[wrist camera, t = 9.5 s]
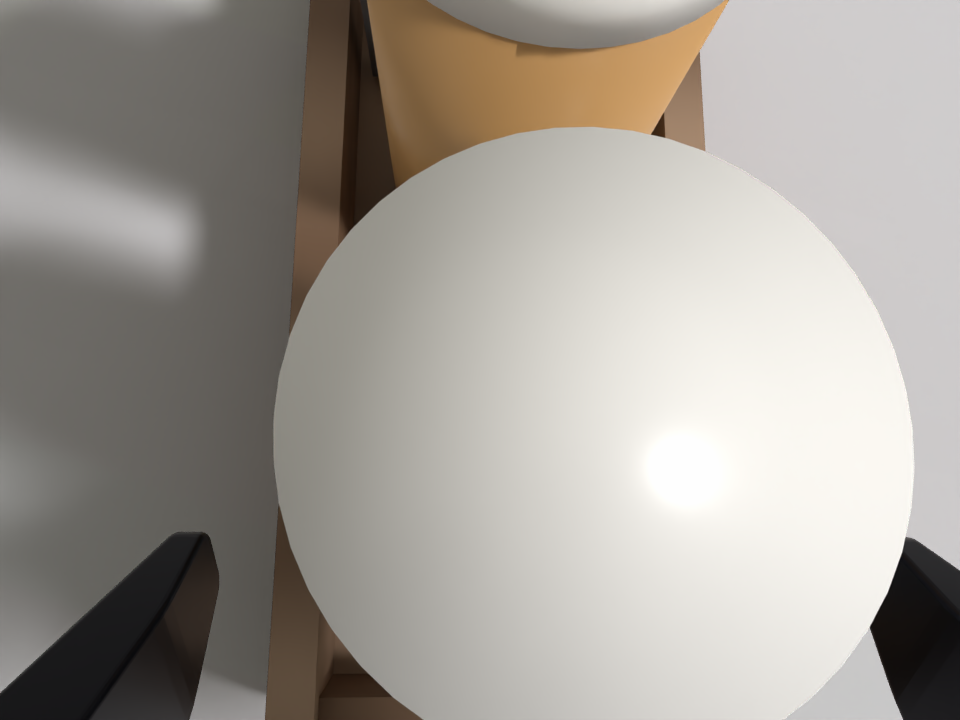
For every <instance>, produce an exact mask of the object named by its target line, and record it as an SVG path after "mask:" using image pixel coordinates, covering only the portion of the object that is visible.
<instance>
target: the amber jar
mask: <svg viewBox="0 0 960 720" xmlns="http://www.w3.org/2000/svg"><path fill="white" fill-rule="evenodd" d="M728 1H729V0H367V4H368V10H369V17H370V23H371V30H372V37H373V43H374V50H375V56H376V63H377V69H378V76H379V82H380V89H381V95H382V102H383V109H384V115H385V122H386V128H387V135H388V141H389V148H390V154H391V161H392V167H393V174H394V181H395V187H396V189H397V188H398V187H399V186H401V185H402V184H403V183H405V182H406V181H407V180H408V179H410V178H411V177H413V176H415V175H416V174H418V173H420V172H422V171H423V170H425V169H427V168H429V167H430V166H432V165H434V164H436V163H437V162H439V161H441V160H443V159H444V158H447V157H449V156H451V155H454V154H456V153H459V152H461V151H463V150H466V149H468V148H471V147H473V146H475V145H478V144H480V143H484V142H488V141H491V140H495V139H498V138H502V137H506V136H509V135H513V134H516V133H523V132H530V131H536V130H543V129H550V128H566V127H600V128H610V129H621V130H631V131H636V132H640V133H645V134H649V135H651V133H652V132H653V130H654V128H655V127H656V125H657V123H658V121H659V120H660V118H661V116H662V115H663V113H664V111H665V109H666V108H667V106H668V104H669V103H670V101H671V99H672V97H673V96H674V94H675V92H676V90H677V89H678V87H679V85H680V84H681V82H682V80H683V78H684V77H685V75H686V73H687V72H688V70H689V68H690V66H691V65H692V63H693V61H694V60H695V58H696V56H697V54H698V53H699V51H700V49H701V48H702V46H703V44H704V42H705V41H706V39H707V37H708V36H709V34H710V32H711V30H712V29H713V27H714V25H715V24H716V22H717V20H718V18H719V17H720V15H721V13H722V12H723V10H724V8H725V6H726V5H727V3H728Z"/></svg>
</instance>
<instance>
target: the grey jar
mask: <svg viewBox="0 0 960 720" xmlns="http://www.w3.org/2000/svg"><path fill="white" fill-rule="evenodd" d="M273 462H274V470H275V477H276V485H277V493H278V500H279V506H280V510H281V513H282V517H283V521H284V525H285V528H286V532H287V536H288V539H289V543H290V547H291V550H292V552H293V554H294V557H295V559H296V561H297V564H298V566H299V569H300V571H301V573H302V576H303V578H304V580H305V583H306V585H307V588H308V590H309V592H310V593H311V595H312V597H313V598H314V600H315V602H316V604H317V605H318V607H319V609H320V610H321V612H322V614H323V615H324V617H325V619H326V620H327V622H328V624H329V626H330V627H331V629H332V630H333V632H334V633H335V634H336V635H337V637H338V638H339V639H340V641H341V642H342V643H343V644H344V646H345V647H346V648H347V649H348V651H349V652H350V653H351V655H352V656H353V657H354V658H355V660H356V661H357V662H358V663H359V665H360V666H361V667H362V668H363V669H364V670H365V671H366V672H367V673H368V674H369V675H370V676H371V677H373V678H374V679H375V680H376V681H377V682H378V683H379V684H380V685H381V686H382V687H383V688H384V689H385V690H386V691H387V692H388V693H389V694H390V695H391V696H392V697H393V698H394V699H396V700H397V701H398V702H400V703H401V704H403V705H404V706H405V707H407V708H408V709H409V710H411V711H412V712H414V713H415V714H416V715H418V716H419V717H420V718H422V719H423V720H784V719H785V718H786V717H788V716H789V715H790V714H791V713H793V712H794V711H795V710H797V709H798V708H799V707H800V706H802V705H803V704H804V703H805V702H807V701H808V700H809V699H811V698H812V697H813V696H814V695H815V694H816V693H817V692H818V691H819V690H820V689H821V688H822V687H823V686H824V685H825V683H826V682H827V681H828V680H829V679H830V678H831V677H832V676H833V675H834V674H835V673H836V672H837V671H838V670H839V669H840V668H841V667H842V666H843V664H844V663H845V662H846V660H847V659H848V657H849V656H850V655H851V653H852V652H853V650H854V649H855V648H856V646H857V645H858V643H859V642H860V641H861V639H862V638H863V636H864V635H865V634H866V632H867V631H868V629H869V627H870V625H871V623H872V621H873V620H874V618H875V616H876V614H877V612H878V610H879V608H880V606H881V604H882V602H883V600H884V598H885V596H886V595H887V593H888V590H889V587H890V585H891V582H892V579H893V576H894V573H895V571H896V568H897V565H898V562H899V559H900V557H901V554H902V551H903V546H904V541H905V537H906V532H907V527H908V523H909V518H910V513H911V505H912V493H913V480H914V449H913V428H912V422H911V416H910V410H909V404H908V399H907V393H906V387H905V384H904V380H903V377H902V374H901V370H900V367H899V364H898V361H897V357H896V354H895V351H894V347H893V345H892V343H891V341H890V338H889V336H888V334H887V331H886V329H885V327H884V325H883V322H882V320H881V318H880V316H879V313H878V311H877V309H876V307H875V306H874V304H873V302H872V301H871V299H870V297H869V296H868V294H867V292H866V290H865V289H864V287H863V285H862V284H861V282H860V280H859V279H858V277H857V275H856V274H855V273H854V271H853V270H852V269H851V267H850V266H849V265H848V263H847V262H846V261H845V260H844V258H843V257H842V256H841V254H840V253H839V252H838V250H837V249H836V248H835V246H834V245H833V244H832V243H831V242H830V241H829V240H828V239H827V238H826V236H825V235H824V234H823V233H822V232H821V231H820V230H819V229H818V228H817V227H816V226H815V225H814V224H813V223H812V222H811V221H810V220H809V219H808V218H807V217H806V216H805V215H804V214H803V213H802V212H801V211H799V210H798V209H797V208H796V207H794V206H793V205H792V204H791V203H790V202H788V201H787V200H786V199H785V198H783V197H782V196H781V195H780V194H778V193H777V192H776V191H775V190H774V189H772V188H770V187H769V186H767V185H766V184H764V183H763V182H761V181H759V180H758V179H756V178H755V177H753V176H752V175H750V174H748V173H747V172H745V171H744V170H742V169H741V168H739V167H737V166H734V165H732V164H730V163H728V162H726V161H724V160H722V159H720V158H718V157H716V156H714V155H712V154H710V153H708V152H706V151H703V150H700V149H697V148H694V147H691V146H688V145H685V144H683V143H680V142H677V141H674V140H671V139H668V138H663V137H659V136H654V135H649V134H645V133H640V132H636V131H631V130H621V129H610V128H600V127H566V128H550V129H543V130H536V131H530V132H523V133H516V134H513V135H509V136H506V137H502V138H498V139H495V140H491V141H488V142H484V143H480V144H478V145H475V146H473V147H471V148H468V149H466V150H463V151H461V152H459V153H456V154H454V155H451V156H449V157H447V158H444V159H443V160H441V161H439V162H437V163H436V164H434V165H432V166H430V167H429V168H427V169H425V170H423V171H422V172H420V173H418V174H416V175H415V176H413V177H411V178H410V179H408V180H407V181H406V182H405V183H403V184H402V185H401V186H399V187H398V188H397V189H395V190H394V191H393V192H391V193H390V194H389V195H387V196H386V197H385V198H384V199H382V200H381V201H380V202H379V203H378V204H377V205H376V206H375V207H373V208H372V209H371V210H370V211H369V212H368V213H367V214H366V215H365V216H364V217H363V218H362V219H361V220H360V221H359V222H358V223H357V224H356V225H355V226H354V227H353V228H352V229H351V230H350V232H349V233H348V234H347V236H346V237H345V238H344V239H343V241H342V242H341V243H340V245H339V246H338V247H337V248H336V250H335V251H334V252H333V254H332V255H331V256H330V257H329V259H328V260H327V261H326V263H325V265H324V267H323V268H322V270H321V272H320V273H319V275H318V277H317V279H316V280H315V282H314V284H313V285H312V287H311V289H310V290H309V292H308V294H307V296H306V298H305V300H304V303H303V305H302V307H301V310H300V312H299V314H298V317H297V319H296V322H295V324H294V326H293V329H292V331H291V333H290V337H289V340H288V344H287V348H286V351H285V355H284V359H283V362H282V366H281V370H280V373H279V379H278V387H277V394H276V401H275V409H274V416H273Z"/></svg>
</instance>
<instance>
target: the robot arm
mask: <svg viewBox="0 0 960 720" xmlns="http://www.w3.org/2000/svg"><path fill="white" fill-rule="evenodd" d="M218 590H219V572H218V568H217V564H216V560H215V556H214V552H213V548H212V544H211V540H210V537H209V536H208V534H206V533H203V532H177V533H174V534H173V535H171V536H170V537H168V538H167V539H166V540H165V541H164V542H163V543H162V544H161V545H160V546H159V547H158V548H157V549H155V550H154V551H153V552H152V553H151V554H150V555H149V556H148V557H147V558H146V559H145V560H144V561H142V562H141V563H140V564H139V565H138V566H137V567H136V568H135V569H134V570H133V571H132V572H131V573H130V574H128V575H127V576H126V577H125V578H124V579H123V580H122V581H121V582H120V583H119V584H118V585H117V586H115V587H114V588H113V589H112V590H111V591H110V592H109V593H108V594H107V595H106V596H105V597H104V598H102V599H101V600H100V601H99V602H98V603H97V604H96V605H95V606H94V607H93V608H92V609H91V610H89V611H88V612H87V613H86V614H85V615H84V616H83V617H82V618H81V619H80V620H79V621H78V622H77V623H75V624H74V625H73V626H72V627H71V628H70V629H69V630H68V631H67V632H66V633H65V634H64V635H62V636H61V637H60V638H59V639H58V640H57V641H56V642H55V643H54V644H53V645H52V646H51V647H49V648H48V649H47V650H46V651H45V652H44V653H43V654H42V655H41V656H40V657H39V658H38V659H36V660H35V661H34V662H33V663H32V664H31V665H30V666H29V667H28V668H27V669H26V670H25V671H23V672H22V673H21V674H20V675H19V676H18V677H17V678H16V679H15V680H14V681H13V682H12V683H11V684H9V685H8V686H7V687H6V688H5V689H4V690H3V691H2V692H1V693H0V720H189V719H190V715H191V712H192V709H193V705H194V701H195V697H196V693H197V688H198V684H199V679H200V675H201V670H202V665H203V661H204V656H205V651H206V647H207V642H208V637H209V632H210V628H211V623H212V618H213V614H214V609H215V604H216V600H217V595H218ZM870 630H871V633H872V636H873V639H874V642H875V644H876V647H877V650H878V653H879V656H880V659H881V662H882V665H883V668H884V671H885V674H886V677H887V680H888V683H889V685H890V688H891V691H892V693H893V696H894V699H895V701H896V704H897V706H898V708H899V711H900V713H901V715H902V718H903V720H960V570H958V569H957V568H955V567H954V566H953V565H951V564H950V563H948V562H947V561H945V560H944V559H943V558H941V557H940V556H938V555H937V554H935V553H934V552H933V551H931V550H930V549H928V548H927V547H925V546H924V545H923V544H921V543H920V542H918V541H916V540H915V539H912V538H909V537H905V541H904V546H903V551H902V554H901V557H900V559H899V562H898V565H897V568H896V571H895V573H894V576H893V579H892V582H891V585H890V587H889V590H888V593H887V595H886V596H885V598H884V600H883V602H882V604H881V606H880V608H879V610H878V612H877V614H876V616H875V618H874V620H873V621H872V623H871V625H870Z"/></svg>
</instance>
